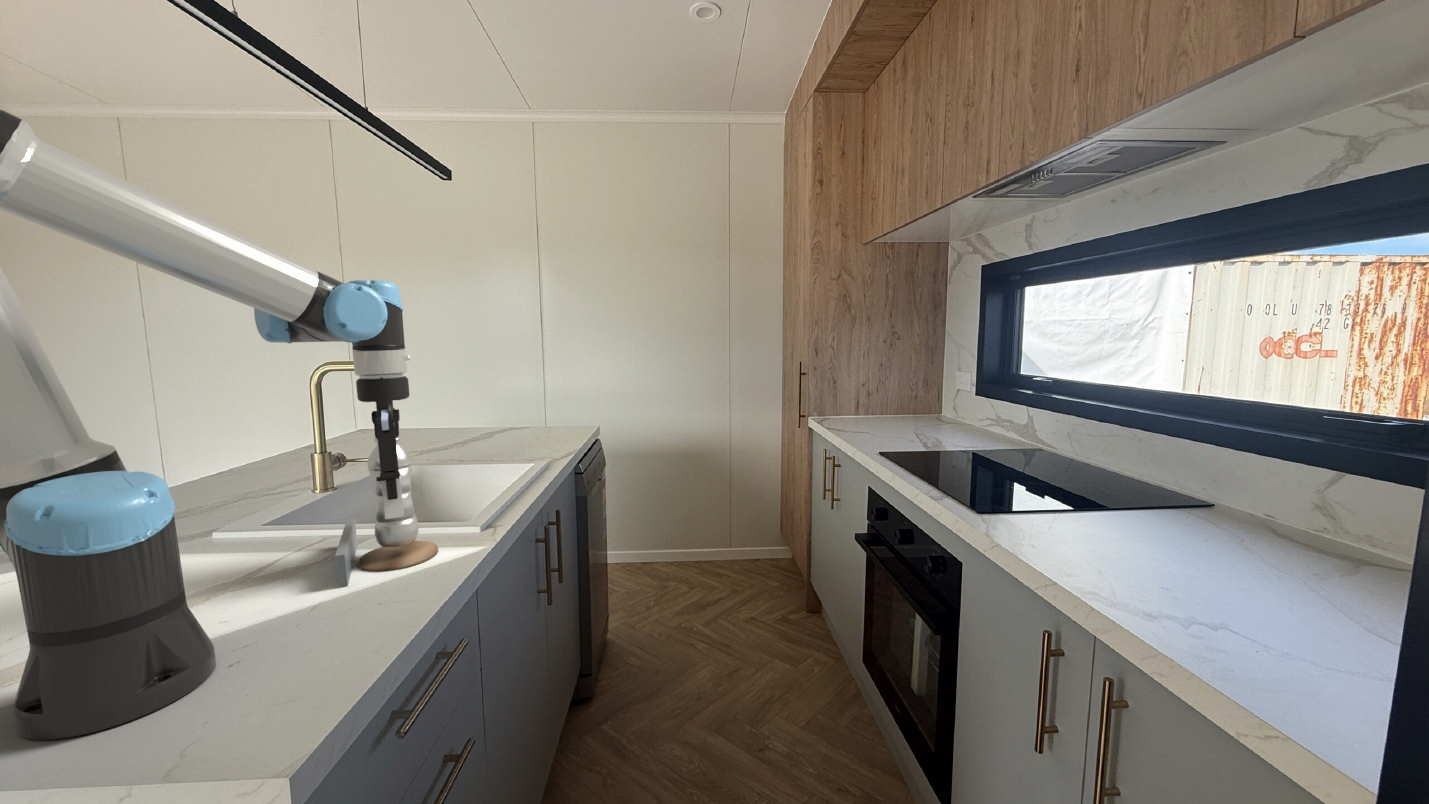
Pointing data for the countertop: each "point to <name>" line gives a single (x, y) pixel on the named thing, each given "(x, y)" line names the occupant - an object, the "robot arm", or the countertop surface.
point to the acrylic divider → (346, 553)
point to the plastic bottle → (407, 526)
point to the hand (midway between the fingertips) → (395, 511)
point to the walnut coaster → (398, 556)
